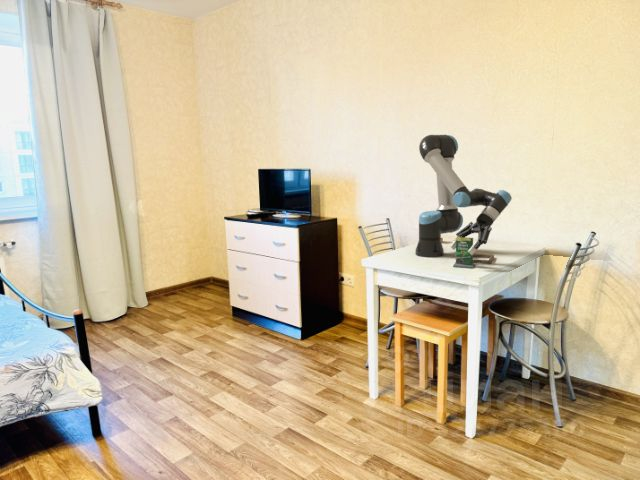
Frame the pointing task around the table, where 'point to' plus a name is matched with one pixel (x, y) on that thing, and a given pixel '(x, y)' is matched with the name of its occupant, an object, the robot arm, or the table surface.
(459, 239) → the coffee box
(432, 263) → the table surface
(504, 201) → the robot arm
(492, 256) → the brown flat square frame
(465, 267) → the mat
